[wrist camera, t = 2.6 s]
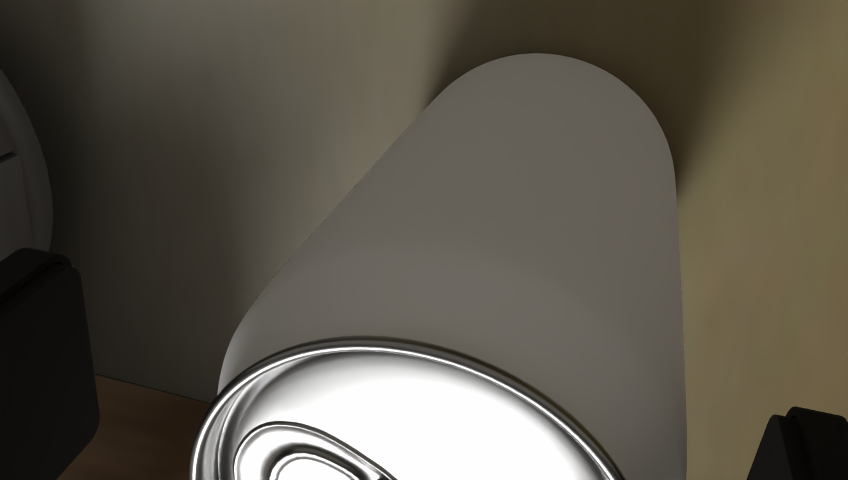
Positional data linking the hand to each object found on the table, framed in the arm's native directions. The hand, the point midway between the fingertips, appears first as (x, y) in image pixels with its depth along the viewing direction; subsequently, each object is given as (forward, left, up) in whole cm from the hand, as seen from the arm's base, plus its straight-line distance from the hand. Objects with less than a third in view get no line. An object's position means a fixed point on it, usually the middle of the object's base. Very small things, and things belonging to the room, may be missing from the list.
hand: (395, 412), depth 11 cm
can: (-1, +1, -11) cm, 11 cm away
